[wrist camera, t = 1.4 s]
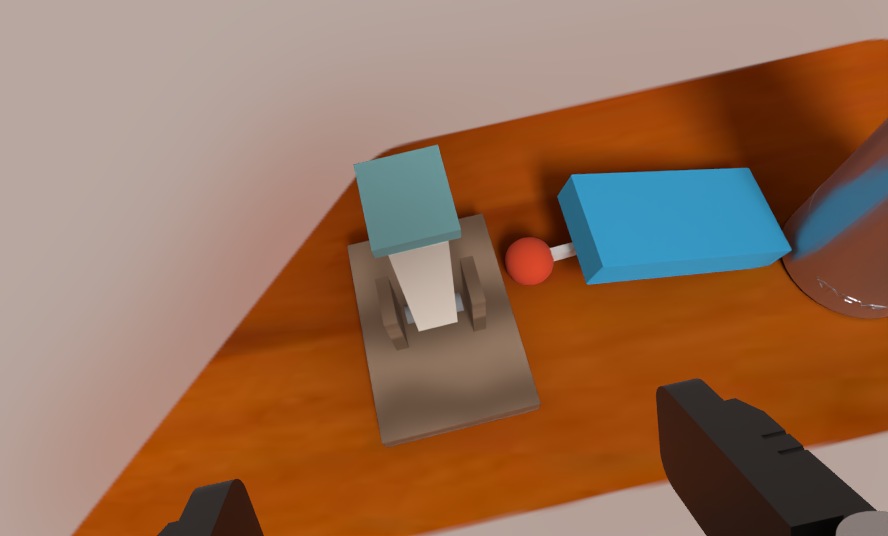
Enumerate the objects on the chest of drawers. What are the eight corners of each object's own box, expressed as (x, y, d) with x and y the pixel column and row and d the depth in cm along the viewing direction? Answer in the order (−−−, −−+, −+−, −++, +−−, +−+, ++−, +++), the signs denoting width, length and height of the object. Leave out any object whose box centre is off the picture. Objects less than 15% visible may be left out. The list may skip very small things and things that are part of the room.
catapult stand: (537, 409, 36) (548, 385, 30) (387, 447, 36) (365, 430, 29) (482, 226, 42) (481, 173, 36) (353, 257, 42) (329, 209, 35)
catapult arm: (466, 322, 35) (461, 230, 22) (411, 335, 35) (371, 252, 22) (451, 264, 37) (437, 144, 23) (398, 277, 37) (353, 164, 23)
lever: (691, 219, 46) (488, 232, 41) (748, 167, 40) (518, 176, 35) (725, 294, 43) (511, 318, 38) (792, 250, 37) (547, 272, 32)
